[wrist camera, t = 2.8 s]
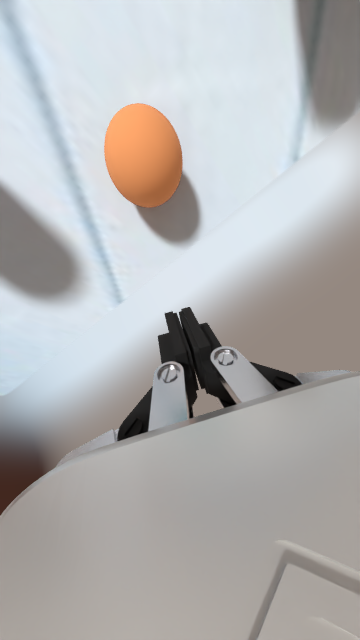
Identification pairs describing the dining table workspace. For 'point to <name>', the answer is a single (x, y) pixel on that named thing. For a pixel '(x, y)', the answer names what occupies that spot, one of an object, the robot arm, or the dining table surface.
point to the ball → (143, 155)
